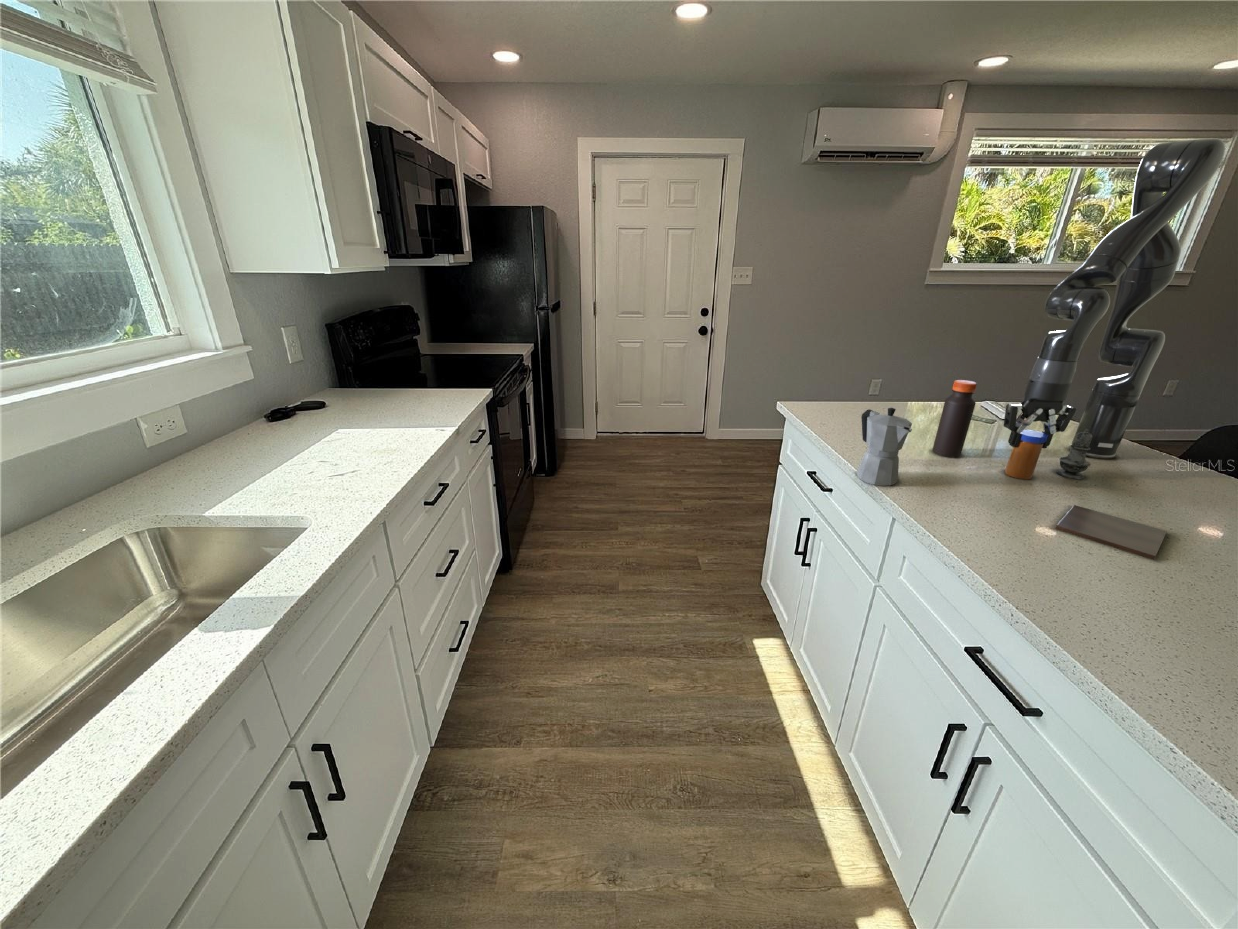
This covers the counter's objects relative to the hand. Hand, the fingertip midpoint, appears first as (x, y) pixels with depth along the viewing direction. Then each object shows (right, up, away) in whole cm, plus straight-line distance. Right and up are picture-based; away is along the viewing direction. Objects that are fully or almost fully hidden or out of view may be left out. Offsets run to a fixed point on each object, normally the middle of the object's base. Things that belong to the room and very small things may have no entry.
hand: (1027, 446), depth 119 cm
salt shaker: (+13, -7, +3) cm, 15 cm away
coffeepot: (-36, -8, +2) cm, 37 cm away
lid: (0, +3, -1) cm, 3 cm away
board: (-2, -18, -22) cm, 29 cm away
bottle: (-9, -1, +16) cm, 19 cm away
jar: (0, -7, +3) cm, 8 cm away
